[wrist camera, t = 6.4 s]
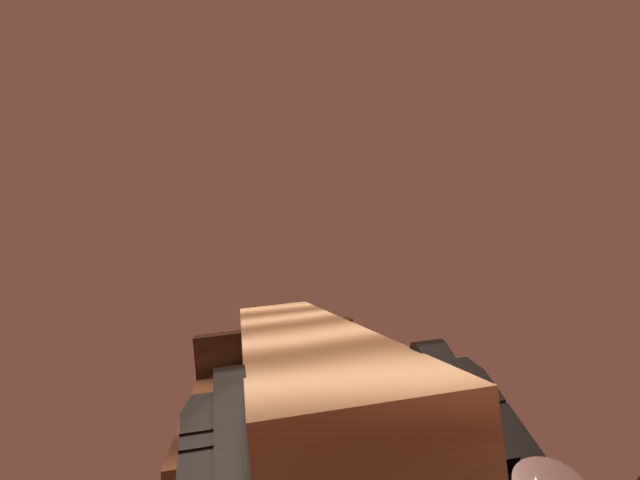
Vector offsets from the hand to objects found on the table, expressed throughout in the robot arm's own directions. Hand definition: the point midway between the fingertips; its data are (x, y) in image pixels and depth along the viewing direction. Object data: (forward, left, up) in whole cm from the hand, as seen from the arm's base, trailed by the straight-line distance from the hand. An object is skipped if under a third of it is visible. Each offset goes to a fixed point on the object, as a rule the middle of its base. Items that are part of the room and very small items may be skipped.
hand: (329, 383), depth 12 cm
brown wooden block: (-4, +7, -3) cm, 8 cm away
